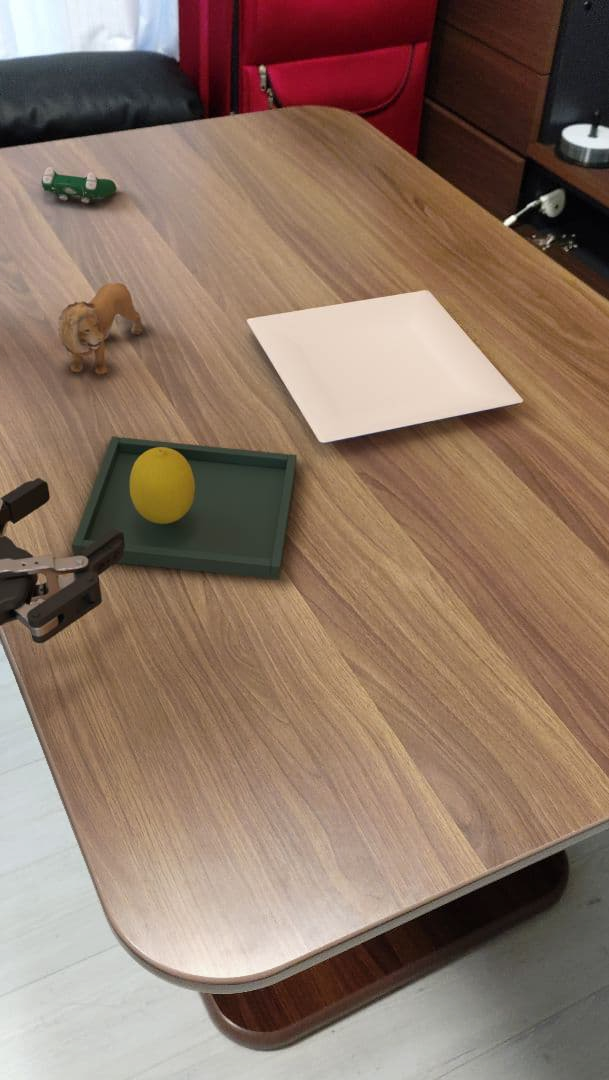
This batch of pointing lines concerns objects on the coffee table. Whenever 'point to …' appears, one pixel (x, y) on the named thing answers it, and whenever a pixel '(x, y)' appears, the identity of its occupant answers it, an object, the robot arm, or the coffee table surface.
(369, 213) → the coffee table surface
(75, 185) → the green piece
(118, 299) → the lion figurine
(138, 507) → the lemon
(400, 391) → the plate
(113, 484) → the tray
